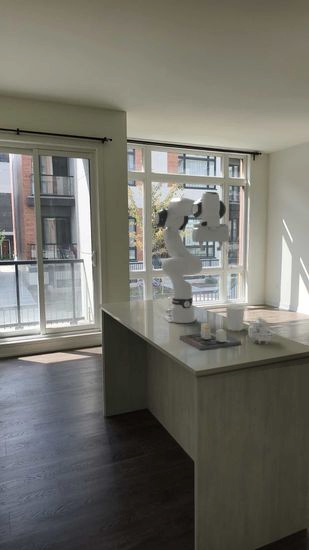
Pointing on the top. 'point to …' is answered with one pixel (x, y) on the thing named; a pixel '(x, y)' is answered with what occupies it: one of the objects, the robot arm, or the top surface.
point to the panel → (208, 341)
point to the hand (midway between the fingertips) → (211, 250)
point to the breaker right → (221, 335)
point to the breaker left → (205, 325)
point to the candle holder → (235, 317)
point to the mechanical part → (260, 330)
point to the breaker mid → (205, 333)
